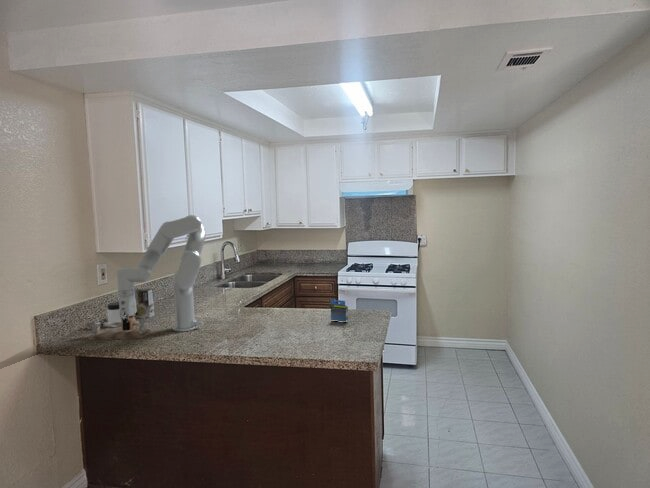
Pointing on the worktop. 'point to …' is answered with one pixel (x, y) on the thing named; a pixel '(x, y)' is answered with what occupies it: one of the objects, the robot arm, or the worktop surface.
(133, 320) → the sleeve
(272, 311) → the worktop surface
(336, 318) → the label tape cartridge
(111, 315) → the jar
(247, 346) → the worktop surface
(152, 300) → the coffee box
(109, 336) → the cube slider rail
